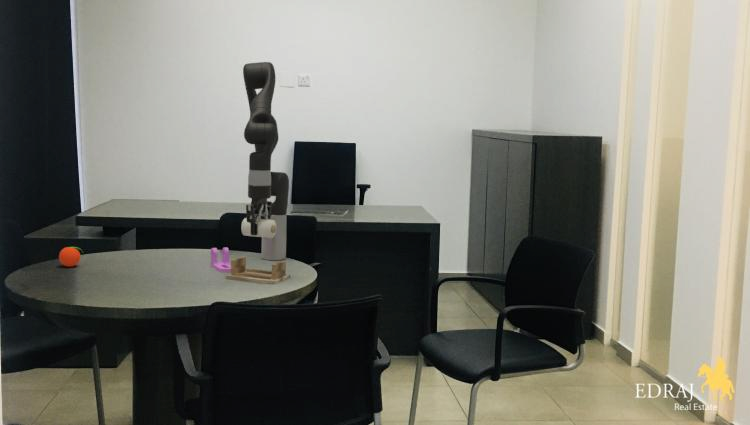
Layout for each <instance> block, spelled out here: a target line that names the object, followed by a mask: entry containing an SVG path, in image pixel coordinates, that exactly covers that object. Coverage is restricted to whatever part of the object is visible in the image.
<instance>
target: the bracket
mask: <svg viewBox="0 0 750 425" xmlns="http://www.w3.org/2000/svg"><path fill="white" fill-rule="evenodd" d="M221 253H222V254H221V255H222V256H221V257H222V258H221V260H222V261H218V254H219V253H218V248H217V247H212V248H210V267H211V268H213V269H214V268H215V270H216V271H217V270H218V272H219V273H226V272H227V273H231V263H230V250H229V248H228V246H227V247H223V248H222V251H221Z"/></svg>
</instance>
